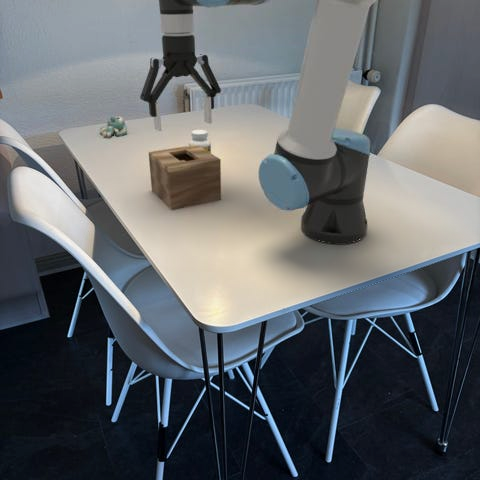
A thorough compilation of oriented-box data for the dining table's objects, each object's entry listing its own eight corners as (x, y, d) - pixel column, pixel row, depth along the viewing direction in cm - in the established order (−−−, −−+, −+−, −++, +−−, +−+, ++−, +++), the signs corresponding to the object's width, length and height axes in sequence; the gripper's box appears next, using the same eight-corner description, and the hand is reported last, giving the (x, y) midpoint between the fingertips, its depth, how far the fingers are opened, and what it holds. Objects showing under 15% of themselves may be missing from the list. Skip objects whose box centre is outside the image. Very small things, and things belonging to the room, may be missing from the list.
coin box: (221, 199, 131) (220, 159, 125) (171, 209, 125) (168, 168, 119) (198, 182, 141) (197, 144, 136) (151, 191, 135) (148, 152, 130)
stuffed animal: (89, 123, 176) (104, 109, 185) (94, 141, 181) (108, 126, 190) (117, 125, 174) (131, 111, 183) (121, 143, 178) (134, 128, 187)
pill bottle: (208, 174, 147) (207, 135, 142) (187, 172, 148) (185, 134, 143) (213, 166, 153) (213, 129, 147) (193, 165, 154) (192, 128, 148)
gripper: (218, 30, 122) (221, 116, 132) (120, 35, 112) (130, 129, 121) (233, 32, 116) (234, 122, 126) (130, 38, 106) (140, 136, 115)
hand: (183, 126), depth 124 cm, fingers open, 13 cm apart
